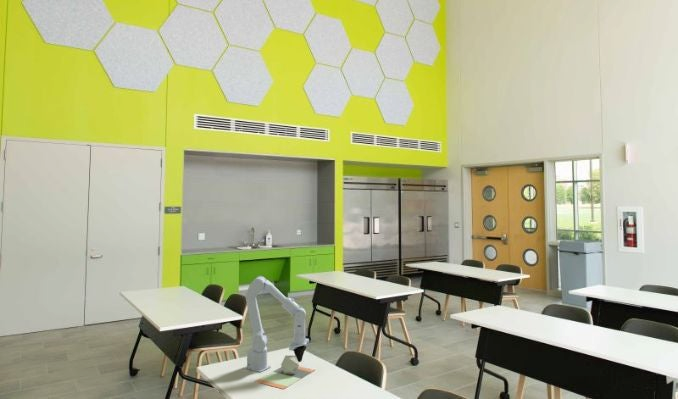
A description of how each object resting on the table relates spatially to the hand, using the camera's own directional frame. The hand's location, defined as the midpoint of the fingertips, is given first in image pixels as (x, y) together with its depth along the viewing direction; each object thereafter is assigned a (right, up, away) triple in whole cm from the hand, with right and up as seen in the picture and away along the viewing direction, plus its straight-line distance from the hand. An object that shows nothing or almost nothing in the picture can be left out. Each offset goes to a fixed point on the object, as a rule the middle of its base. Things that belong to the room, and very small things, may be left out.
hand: (299, 361), depth 201 cm
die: (-4, -3, -7) cm, 8 cm away
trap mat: (-5, -3, -10) cm, 11 cm away
